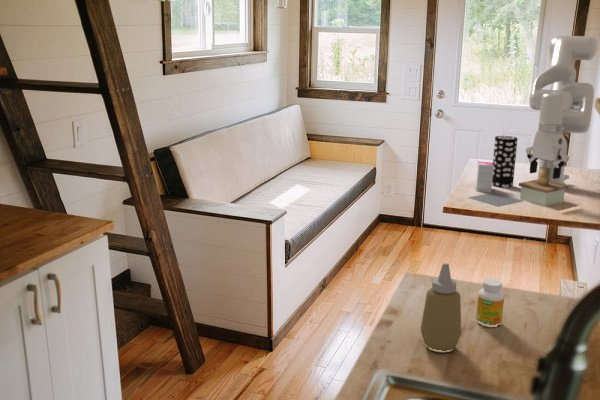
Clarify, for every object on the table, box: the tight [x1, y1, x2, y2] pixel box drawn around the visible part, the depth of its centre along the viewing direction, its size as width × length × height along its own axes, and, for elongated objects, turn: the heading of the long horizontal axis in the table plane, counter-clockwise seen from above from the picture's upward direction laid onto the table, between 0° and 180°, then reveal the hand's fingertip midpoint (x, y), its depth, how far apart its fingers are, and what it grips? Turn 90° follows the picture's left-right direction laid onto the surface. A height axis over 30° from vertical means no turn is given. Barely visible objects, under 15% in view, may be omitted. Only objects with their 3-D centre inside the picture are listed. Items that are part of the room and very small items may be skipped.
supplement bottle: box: [475, 278, 505, 325], centre depth 140 cm, size 5×5×10 cm
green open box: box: [519, 186, 566, 207], centre depth 234 cm, size 11×11×6 cm
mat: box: [467, 192, 523, 208], centre depth 236 cm, size 14×14×1 cm
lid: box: [518, 167, 569, 193], centre depth 232 cm, size 12×12×7 cm
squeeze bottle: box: [420, 262, 462, 351], centre depth 128 cm, size 8×8×18 cm
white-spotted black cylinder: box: [492, 135, 519, 189], centre depth 254 cm, size 8×8×20 cm
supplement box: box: [474, 161, 494, 193], centre depth 247 cm, size 6×6×12 cm
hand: (544, 175), depth 232 cm, fingers open, 9 cm apart
